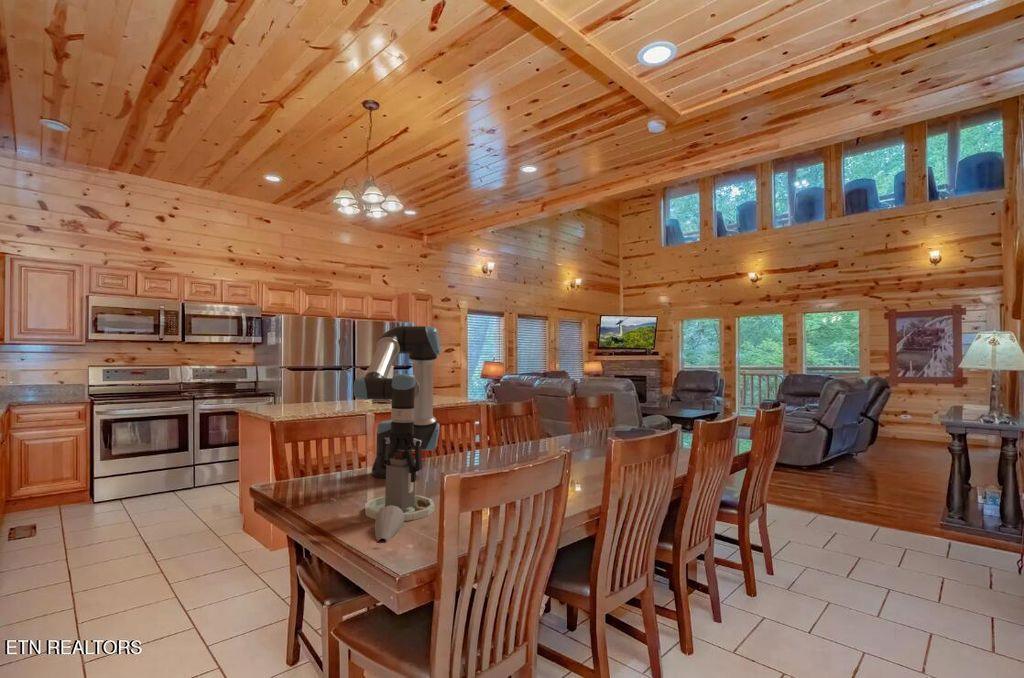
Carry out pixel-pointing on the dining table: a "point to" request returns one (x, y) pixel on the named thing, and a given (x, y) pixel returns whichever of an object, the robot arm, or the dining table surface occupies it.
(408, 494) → the perfume bottle
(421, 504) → the bead
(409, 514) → the tray
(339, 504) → the dining table surface
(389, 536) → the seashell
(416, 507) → the bead
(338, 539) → the dining table surface
